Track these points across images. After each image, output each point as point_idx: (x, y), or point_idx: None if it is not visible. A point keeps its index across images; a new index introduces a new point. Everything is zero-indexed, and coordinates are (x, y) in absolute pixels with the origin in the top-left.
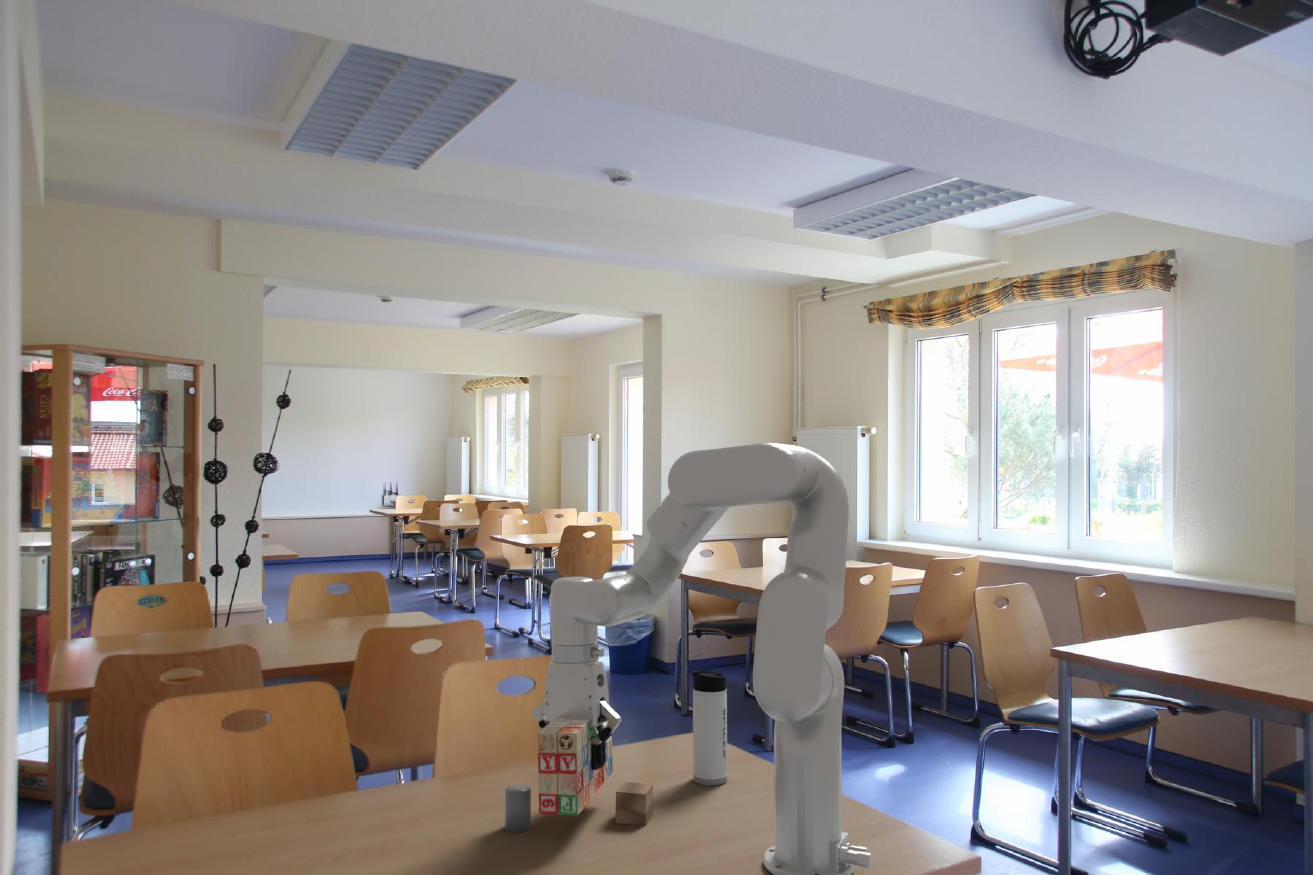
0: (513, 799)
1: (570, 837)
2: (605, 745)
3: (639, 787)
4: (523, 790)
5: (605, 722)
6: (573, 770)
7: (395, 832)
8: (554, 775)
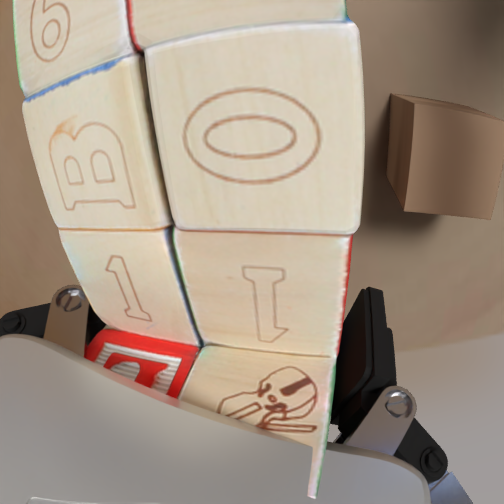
0: None
1: None
2: (395, 381)
3: (473, 160)
4: None
5: (331, 11)
6: None
7: (51, 279)
8: None
